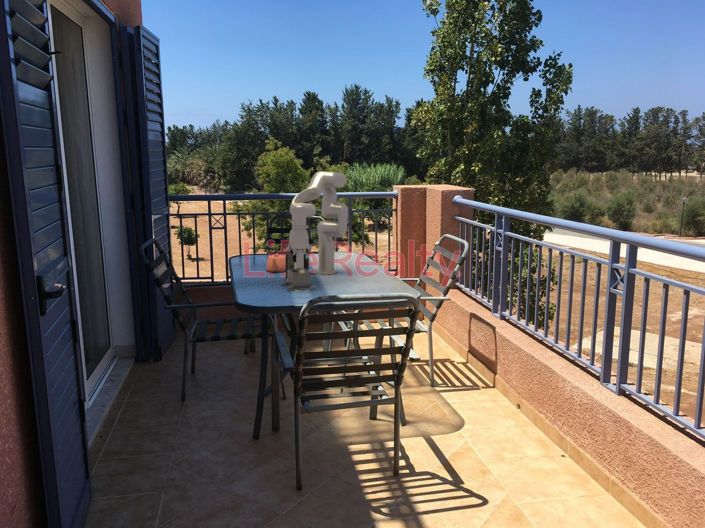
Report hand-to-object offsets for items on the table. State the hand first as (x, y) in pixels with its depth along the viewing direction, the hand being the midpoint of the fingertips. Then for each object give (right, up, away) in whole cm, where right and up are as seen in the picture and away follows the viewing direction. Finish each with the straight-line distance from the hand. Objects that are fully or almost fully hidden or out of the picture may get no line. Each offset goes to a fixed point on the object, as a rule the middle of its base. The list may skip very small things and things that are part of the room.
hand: (298, 261), depth 303 cm
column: (0, -10, +2) cm, 10 cm away
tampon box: (-3, -10, +23) cm, 25 cm away
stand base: (0, -14, +3) cm, 14 cm away
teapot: (-18, -6, +39) cm, 44 cm away
